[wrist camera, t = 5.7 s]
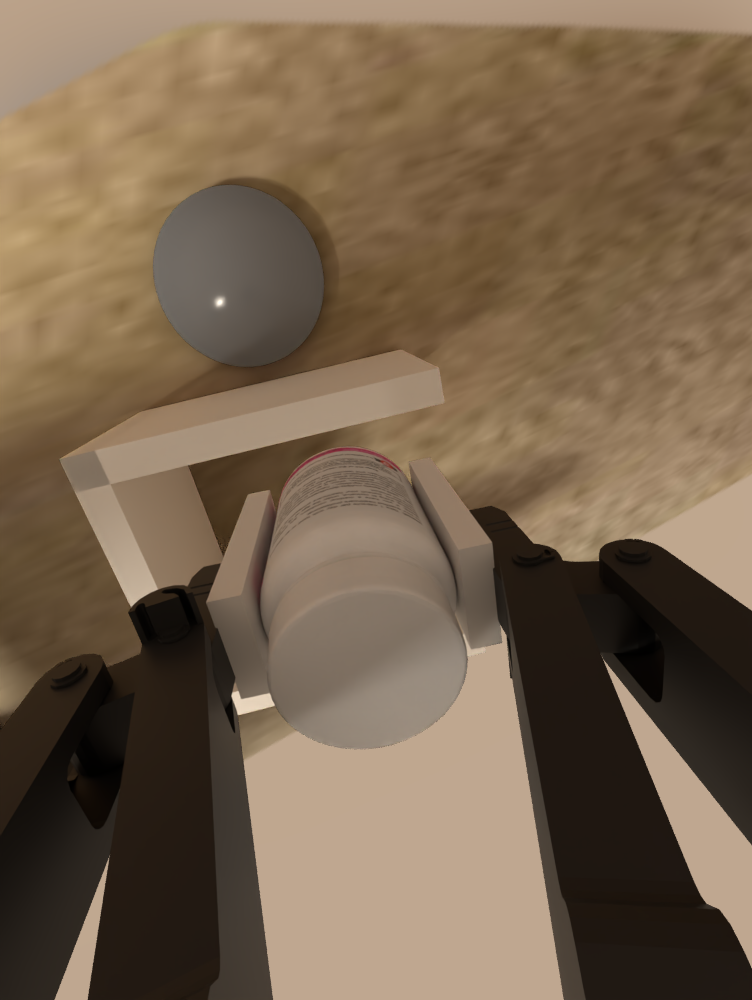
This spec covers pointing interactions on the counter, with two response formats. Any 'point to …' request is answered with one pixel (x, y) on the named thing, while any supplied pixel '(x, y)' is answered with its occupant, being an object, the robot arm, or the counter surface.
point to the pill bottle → (359, 605)
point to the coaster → (238, 275)
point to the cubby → (214, 434)
